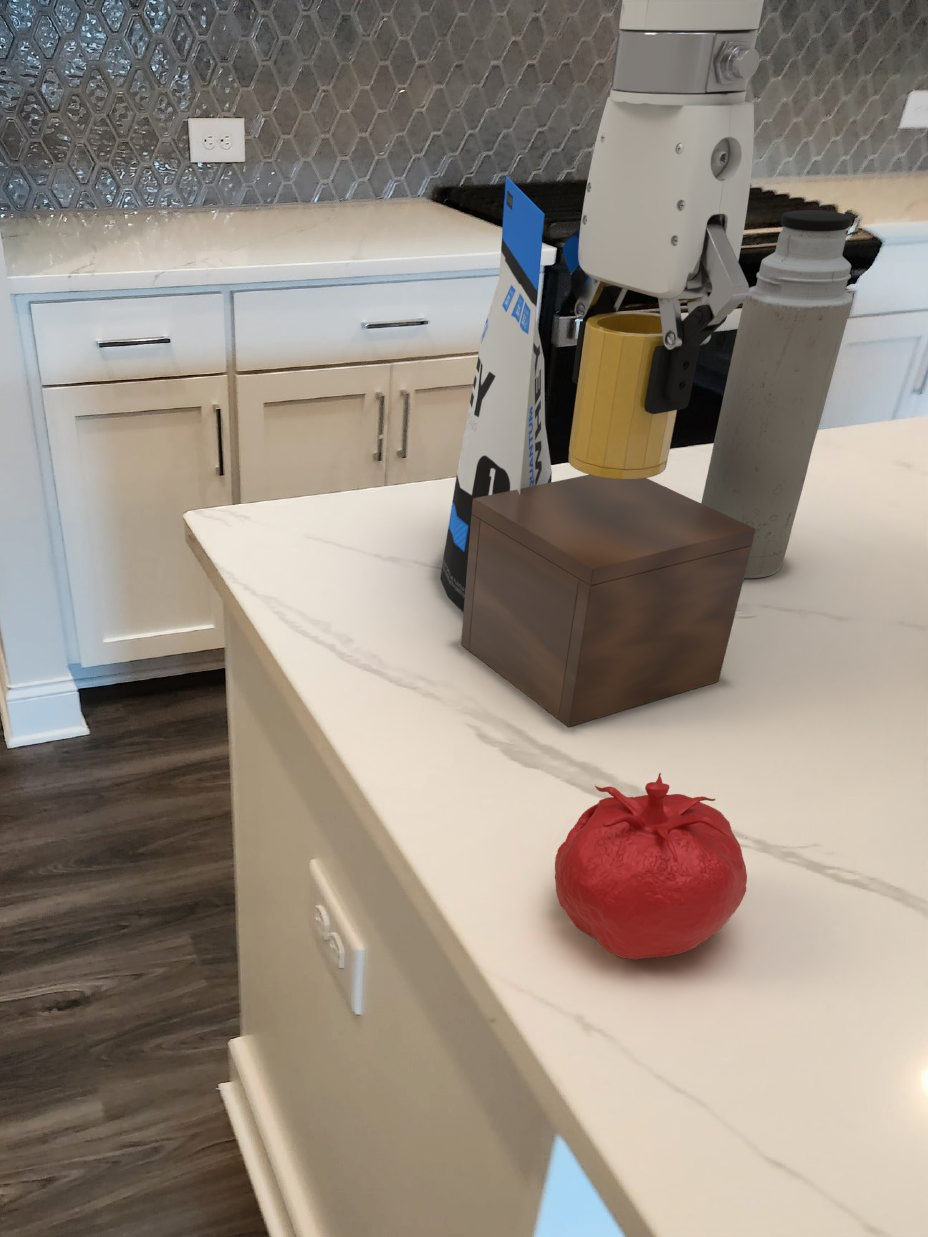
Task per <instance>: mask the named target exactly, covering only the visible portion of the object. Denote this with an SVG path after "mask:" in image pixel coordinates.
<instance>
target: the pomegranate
mask: <svg viewBox="0 0 928 1237" xmlns="http://www.w3.org/2000/svg"><path fill="white" fill-rule="evenodd" d="M661 775H662V773H661V772H659V773H658V776H657V779H656V780H655V781H650V782H647V783H646V784H645V786H644V790H645V792H646V794H643V795H639V796H626V795H625V794H623V793H622V792H621V791H620V790H618V789H617V788H616V787H614V786H605V787H599V786H597V785H594V787H595V789H596V790H597V791H598V792H601V793H608V795H610V797H609V796H608V797H605V798H602V799H600V800H599V801H598V803H597V804H594V805H592V806H591V807H589V808H587V809H586V810H584V812H582V814H581V815H580V817H579V818H578V819H577V821H576V823H575V824H574V826H573V827H572V828H571V829H570V830H569V832H568V833H567V836H566V838H565V841H564V842H562V843H561V844H560V845H559V847H558V848H557V851H556V854H555V857H554V858H555V859H554V872H555V873H554V881H555V893H556V897H557V900H558V902H559V906H560V907H561V909H563V911H564V912H565V914H566V915H567V916H568V918H569V919H570V920H571V922H572V923H573V925H574V926H575V927H577V929H578V930H580V931H581V932H583V933H585V934H587V935H588V936H590V937H593V938H594V939H596V940H597V941H598V943H599V944H600V946H601V948H603V949H604V950H606V951H608V952H609V953H610V954H613V955H614V956H618V957H621V958H623V959H629V960H640V959H648V958H660V957H667V956H668V957H669V956H674V955H679V954H682V953H685V952H689V951H691V950H693V949H694V948H696V947H697V946H698V945H700V944H701V943H704V942H705V941H707V940H708V939H709V938H711V937H712V936H714V935H715V934H716V933H717V932H718V931H719V930H720V929H722V927H724V926H725V924H726V923H727V922H728V921H729V919H730V918H731V917H732V916H733V914H735V912H736V911H737V909H738V908H739V907H740V905H741V903H742V902H743V899H744V897H745V895H746V892H747V885H748V884H747V883H748V872H747V868H746V867H747V866H746V863H745V861H744V856H743V850H742V847H741V844H740V842H739V841H738V840H737V837H736V835H735V834H734V832H733V830H732V827H731V824H730V822H729V820H728V819H727V818H726V817H725V815H724V814H723V813H722V812H721V811H720V810H718V809H717V808H715V807H713V806H711V805H708V804H706V803H703V802H704V801H709V802H715V801H716V798H711V797H707V796H695V797H691V796H687V795H685V794H681V793H672V794H668V793H669V790H670V784H668V783H664V782H663V779H662V777H661Z"/></svg>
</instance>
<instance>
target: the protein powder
mask: <svg viewBox="0 0 928 1237" xmlns="http://www.w3.org/2000/svg"><path fill="white" fill-rule="evenodd" d="M502 215H503V216H502V229H501V246H500V258H499V261H500V262H499V272H498V273H499V275H498V281H497V284H496V288H495V291H494V293H493V298H492V300H491V303H490V307H489V310H488V313H487V316H486V321H485V323H484V328H483V330H482V333H481V336H480V339H479V340H480V341H479V346H478V354H477V361H476V368H475V373H474V378H473V384H472V389H471V395H470V401H469V406H468V411H467V416H466V422H465V427H464V432H463V433H464V434H463V438H462V442H461V443H462V444H461V449H460V454H459V459H458V466H457V471H456V477H455V483H454V489H453V495H452V501H451V502H452V503H451V507H450V508H451V509H450V514H449V521H448V526H447V533H446V540H445V546H444V552H443V559H442V564H441V565H442V566H441V572H440V576H439V577H440V578H439V580H440V582H441V584H442V587H443V589H444V592H445V594H446V596H447V599H449V600H450V601H451V602H452V603H453V604H454V605H455V606H456V607H457V608H458V609H459V610H460V611H461V612H462V613H463V614H464V602H465V590H466V578H467V566H468V554H469V541H470V529H471V517H472V505H473V499H474V498H478V497H483V496H488V495H493V494H497V493H502V492H507V491H512V490H518V492H519V495H520V491H521V489H522V488H526V487H531V486H536V485H541V484H546V483H551V482H552V480H553V479H552V478H553V476H552V474H553V470H552V463H551V455H550V449H549V443H548V442H549V441H548V434H547V429H546V428H547V427H546V401H545V399H546V398H545V395H546V392H545V357H544V352H543V346H542V341H541V336H540V332H539V327H538V323H537V309H538V308H537V306H538V305H537V304H538V296H539V284H540V272H541V262H542V261H541V260H542V250H543V233H544V228H545V226H544V225H545V216H546V214H545V213H544V212H543V211H542V210H541V209H540V208H539V207H538V205H536V204H535V203H534V201H532V200H531V199H530V198H529V197H528V196H527V195H526V194H525V193H524V192H523V191H522V190H521V189H520V188H519V187H518V186H517V185H516V184H515V183H514V182H513V180H511V179H510V177H508V176H505V186H504V201H503V214H502Z"/></svg>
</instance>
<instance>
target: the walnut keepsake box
mask: <svg viewBox="0 0 928 1237" xmlns="http://www.w3.org/2000/svg"><path fill="white" fill-rule="evenodd" d="M755 531H756V529H755V528H753V527H750V526H748V525H746V524H744V523H742V522H740V521H738V520H735V519H733V518H731V517H729V516H727V515H725V514H722V513H720V512H718V511H716V510H714V509H712V508H710V507H707V506H705V505H703V504H701V502H698V501H697V500H694V499H692V498H690V497H688V496H686V495H684V494H682V493H679V492H677V491H675V490H673V489H671V488H669V487H666V486H665V485H663V484H660V483H658V482H656V481H654V480H652V479H651V478H643V479H631V480H622V479H609V478H602V477H597V476H593V475H589V474H584V475H580V476H576V477H575V476H574V477H570V478H566V479H561V480H556V481H551V483H546V484H541V485H536V486H531V487H526V488H522V489H521V491H520V495H519V492H518V490H512V491H507V492H502V493H497V494H493V495H488V496H483V497H478V498H474V499H473V505H472V517H471V529H470V541H469V554H468V566H467V578H466V590H465V602H464V613H463V615H462V628H461V639H460V645H461V646H463V647H464V648H465V649H466V650H468V651H469V652H471V653H472V654H473V655H474V656H476V658H478V660H480V661H481V662H483V663H484V664H485V665H487V666H488V667H490V668H491V670H493V671H495V672H496V673H497V674H499V675H500V676H501V677H503V678H504V679H505V680H507V682H509V683H511V684H512V685H513V686H515V687H516V688H517V689H518V690H520V691H521V692H523V694H525V695H526V696H527V697H528V698H530V699H531V700H533V701H534V702H535V703H536V704H538V705H539V706H541V707H542V708H543V709H545V710H546V711H547V712H548V713H549V714H551V715H553V717H555V718H556V719H558V721H560V722H562V723H563V724H564V725H565V726H567V727H573V726H576V725H580V724H584V723H586V722H589V721H592V720H593V721H594V720H596V719H599V718H602V717H606V716H609V715H612V714H616V713H619V712H622V711H626V710H629V709H632V708H635V707H638V706H642V705H645V704H650V703H651V702H655V701H659V700H662V699H665V698H669V697H671V696H674V695H679V694H681V693H685V692H688V691H691V690H694V689H698V688H701V687H704V686H708V685H712V684H715V683H717V682H719V681H720V677H721V673H722V669H723V665H724V661H725V658H726V653H727V649H728V645H729V641H730V637H731V633H732V630H733V624H734V621H735V617H736V612H737V609H738V605H739V601H740V597H741V592H742V588H743V584H744V580H745V578H744V576H745V572H746V568H747V564H748V560H749V556H750V552H751V548H752V543H753V539H754V535H755Z"/></svg>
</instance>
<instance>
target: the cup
mask: <svg viewBox="0 0 928 1237" xmlns="http://www.w3.org/2000/svg"><path fill="white" fill-rule="evenodd" d="M684 319H685V318H682V321H683V320H684ZM663 345H664V342H663V334H662V326H661V317H660V313H656V312H646V311H645V312H643V311H617V312H613V313H606V314H600V315H596V316H593V317H590V318H588V320H587V322H586V327H585V334H584V342H583V349H582V356H581V364H580V371H579V379H578V384H577V387H576V393H575V401H574V410H573V417H572V423H571V424H572V425H571V432H570V438H569V439H570V440H569V445H568V446H569V447H568V457H567V458H568V459H567V460H568V463H569V465H570V466H571V468H573V469H574V470H577V471H579V472H581V473H583V474H585V475H593V476H597V477H602V478H609V479H622V480H631V479H643V478H647V479H650V478H653V477H655V476H658V475H660V474H662V473H664V471H665V470H666V468H667V465H668V460H669V456H670V455H669V454H670V449H671V444H672V438H673V433H674V429H675V423H676V417H677V412H678V410H674V411H669V412H664V413H658V414H651V413H648V412H646V411H645V407H644V405H645V399H646V393H647V387H648V381H649V376H650V370H651V364H652V358H653V353H654V350H655V347H656V346H663Z"/></svg>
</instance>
